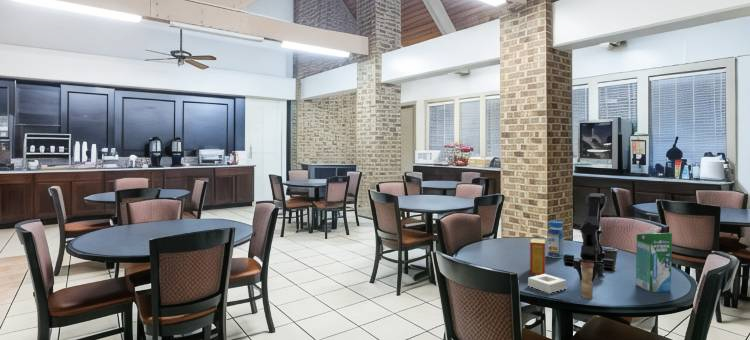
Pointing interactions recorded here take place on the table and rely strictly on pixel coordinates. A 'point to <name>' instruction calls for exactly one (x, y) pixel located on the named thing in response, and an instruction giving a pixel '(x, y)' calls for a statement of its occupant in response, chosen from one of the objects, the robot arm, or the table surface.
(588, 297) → the tan cylindrical container
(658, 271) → the milk carton
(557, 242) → the beverage bottle
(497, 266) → the table surface
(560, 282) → the socket
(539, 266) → the baking soda box
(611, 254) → the coffee cup
